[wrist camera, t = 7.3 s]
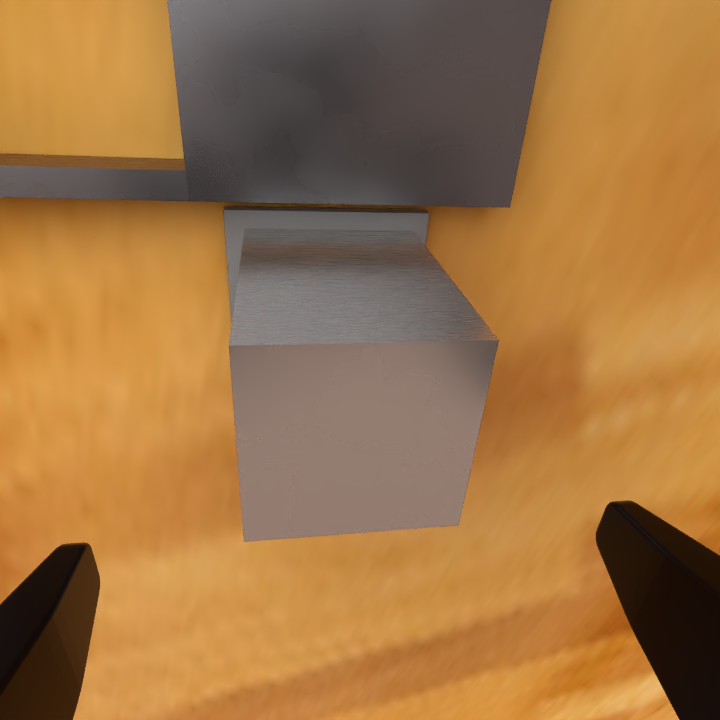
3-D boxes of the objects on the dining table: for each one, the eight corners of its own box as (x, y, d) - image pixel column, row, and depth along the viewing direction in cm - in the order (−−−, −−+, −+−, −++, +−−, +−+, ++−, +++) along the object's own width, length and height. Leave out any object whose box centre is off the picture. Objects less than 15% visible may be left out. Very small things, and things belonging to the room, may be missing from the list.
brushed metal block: (413, 230, 16) (498, 340, 10) (397, 371, 18) (458, 525, 13) (244, 228, 15) (228, 345, 9) (252, 375, 18) (243, 541, 12)
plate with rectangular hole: (554, -160, 12) (587, -184, 11) (491, 194, 16) (509, 207, 15) (-391, -289, 9) (-495, -341, 8) (-183, 178, 13) (-230, 192, 12)
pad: (426, 209, 16) (429, 213, 16) (406, 375, 19) (408, 382, 19) (224, 206, 15) (223, 209, 15) (237, 381, 18) (236, 387, 18)
